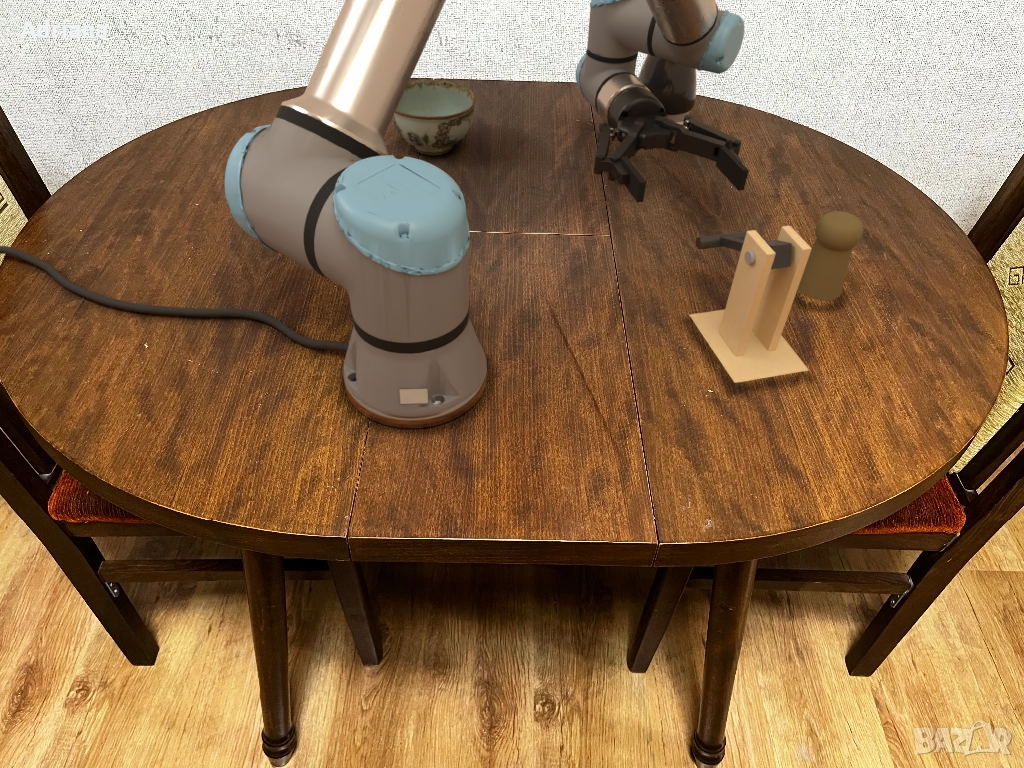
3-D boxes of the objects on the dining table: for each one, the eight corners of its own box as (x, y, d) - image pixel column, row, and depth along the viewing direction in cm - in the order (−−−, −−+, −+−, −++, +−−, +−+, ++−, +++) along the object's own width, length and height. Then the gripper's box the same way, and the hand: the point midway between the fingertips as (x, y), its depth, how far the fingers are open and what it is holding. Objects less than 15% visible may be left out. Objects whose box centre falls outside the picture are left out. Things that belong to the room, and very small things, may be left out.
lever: (695, 252, 89) (695, 232, 89) (741, 246, 91) (742, 226, 90) (754, 271, 77) (755, 248, 77) (807, 264, 79) (808, 241, 78)
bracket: (686, 322, 91) (712, 213, 81) (755, 312, 93) (789, 204, 83) (732, 390, 83) (767, 279, 72) (806, 378, 85) (850, 267, 74)
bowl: (487, 134, 125) (487, 86, 120) (461, 172, 116) (460, 122, 110) (408, 122, 128) (405, 74, 122) (377, 159, 118) (372, 108, 113)
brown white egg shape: (699, 118, 132) (718, 26, 121) (676, 141, 125) (693, 46, 115) (646, 103, 135) (659, 13, 125) (620, 125, 129) (632, 31, 118)
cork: (842, 312, 93) (874, 235, 86) (791, 304, 94) (819, 227, 86) (837, 283, 98) (867, 207, 90) (789, 276, 98) (815, 201, 91)
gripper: (706, 129, 114) (776, 202, 99) (545, 145, 109) (594, 224, 94) (717, 79, 108) (792, 148, 94) (548, 93, 103) (600, 168, 89)
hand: (693, 186), depth 94 cm, fingers open, 13 cm apart
